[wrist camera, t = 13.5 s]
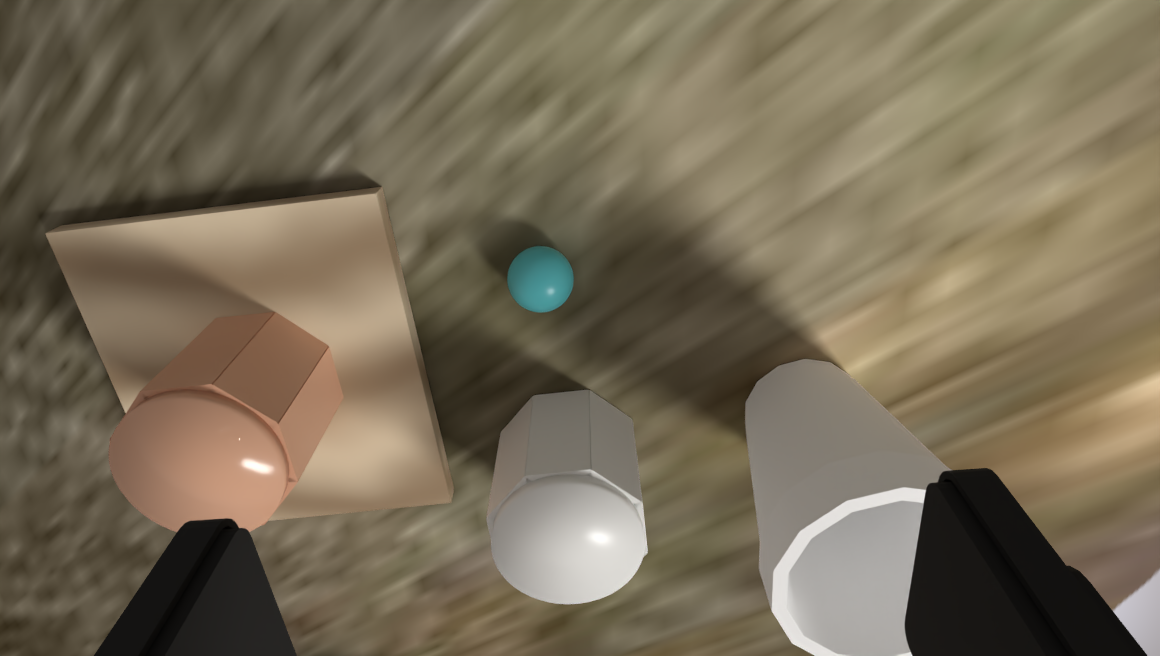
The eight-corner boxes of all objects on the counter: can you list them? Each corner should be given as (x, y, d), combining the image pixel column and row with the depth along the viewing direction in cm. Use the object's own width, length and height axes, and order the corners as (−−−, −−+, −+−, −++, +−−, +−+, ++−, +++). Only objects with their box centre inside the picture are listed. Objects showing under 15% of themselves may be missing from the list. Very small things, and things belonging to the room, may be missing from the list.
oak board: (60, 225, 37) (45, 233, 36) (382, 186, 36) (376, 193, 35) (187, 516, 45) (177, 529, 43) (454, 489, 44) (450, 502, 43)
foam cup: (698, 467, 43) (744, 654, 31) (737, 322, 39) (806, 475, 27) (858, 487, 44) (961, 677, 32) (912, 346, 40) (1052, 505, 28)
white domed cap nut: (493, 399, 41) (476, 491, 34) (628, 385, 41) (639, 475, 34) (515, 507, 44) (502, 612, 37) (640, 494, 44) (652, 598, 37)
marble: (505, 240, 37) (499, 263, 34) (569, 233, 37) (568, 255, 34) (515, 299, 39) (510, 326, 36) (577, 293, 38) (577, 319, 36)
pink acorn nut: (173, 322, 38) (77, 406, 31) (317, 307, 37) (255, 388, 30) (220, 444, 41) (143, 547, 34) (353, 432, 41) (305, 532, 33)
